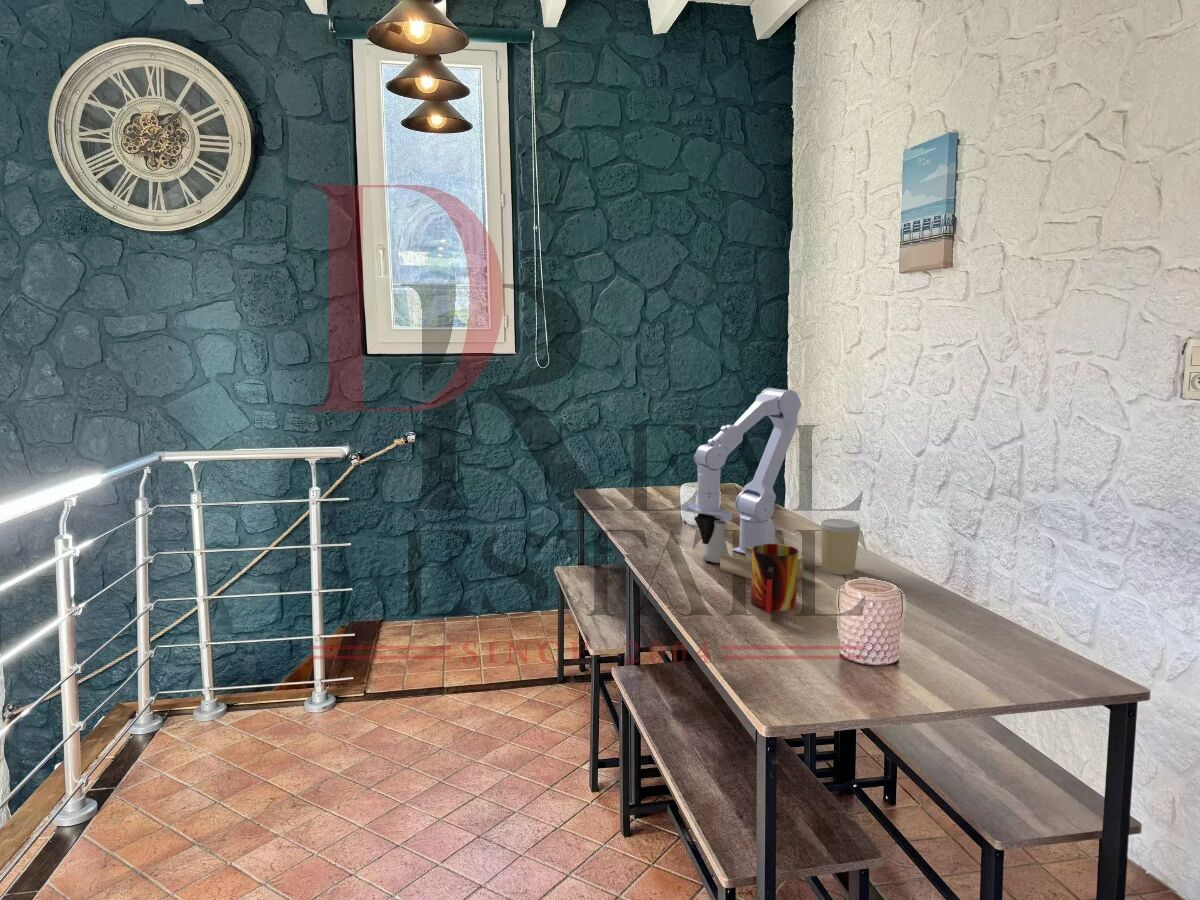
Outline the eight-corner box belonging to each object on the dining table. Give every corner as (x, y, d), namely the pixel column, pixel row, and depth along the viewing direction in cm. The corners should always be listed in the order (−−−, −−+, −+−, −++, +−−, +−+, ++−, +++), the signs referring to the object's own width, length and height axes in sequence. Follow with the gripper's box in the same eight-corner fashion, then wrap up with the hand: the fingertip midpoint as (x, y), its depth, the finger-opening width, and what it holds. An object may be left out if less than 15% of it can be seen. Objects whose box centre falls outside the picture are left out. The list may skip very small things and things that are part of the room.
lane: (747, 561, 206) (747, 542, 205) (803, 577, 193) (804, 557, 192) (719, 569, 199) (720, 550, 198) (776, 586, 186) (777, 565, 185)
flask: (729, 566, 202) (734, 528, 200) (700, 561, 204) (705, 524, 201) (730, 556, 209) (735, 519, 207) (702, 551, 211) (707, 515, 208)
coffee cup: (860, 567, 201) (862, 520, 199) (854, 578, 193) (857, 529, 191) (821, 562, 205) (824, 516, 203) (815, 572, 197) (817, 525, 195)
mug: (766, 619, 165) (768, 562, 164) (744, 596, 179) (746, 544, 177) (810, 616, 167) (813, 561, 165) (786, 595, 180) (788, 543, 179)
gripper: (677, 489, 209) (675, 540, 211) (719, 498, 198) (718, 551, 200) (695, 485, 213) (694, 535, 215) (738, 494, 203) (736, 547, 205)
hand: (707, 543), depth 208 cm, fingers closed
